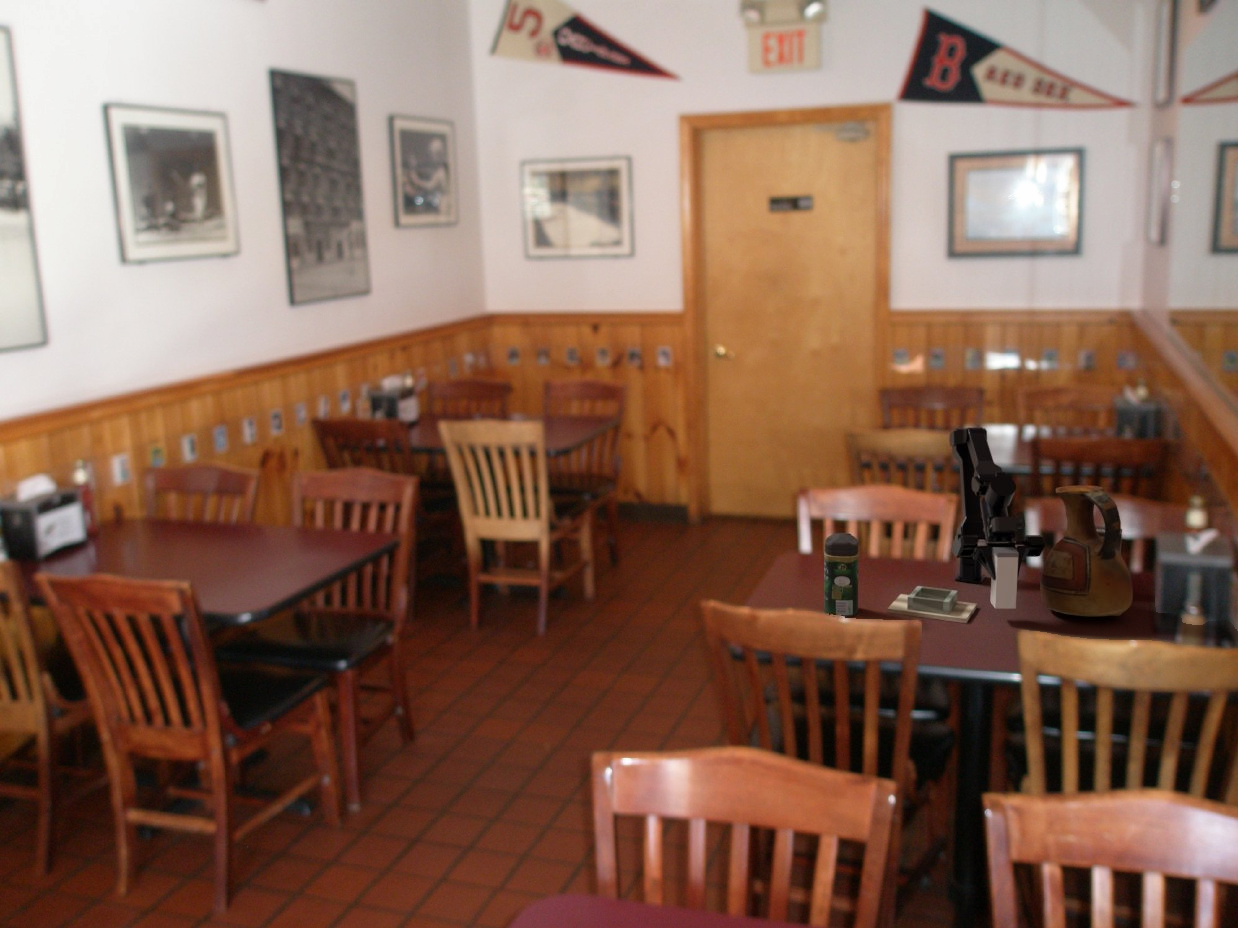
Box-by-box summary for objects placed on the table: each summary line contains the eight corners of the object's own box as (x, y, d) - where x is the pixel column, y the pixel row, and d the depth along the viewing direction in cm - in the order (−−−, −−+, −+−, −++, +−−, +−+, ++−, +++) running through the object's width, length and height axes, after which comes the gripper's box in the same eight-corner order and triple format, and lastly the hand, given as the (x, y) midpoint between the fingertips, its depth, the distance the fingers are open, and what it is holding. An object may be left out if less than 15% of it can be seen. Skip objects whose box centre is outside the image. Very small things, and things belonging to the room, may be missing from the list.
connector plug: (990, 601, 261) (992, 547, 258) (1010, 601, 261) (1013, 547, 258) (995, 608, 256) (997, 552, 254) (1016, 608, 256) (1018, 552, 253)
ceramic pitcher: (1079, 594, 276) (1086, 474, 270) (1151, 618, 258) (1160, 489, 253) (1020, 608, 267) (1026, 483, 261) (1090, 633, 250) (1098, 501, 244)
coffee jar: (824, 604, 273) (825, 529, 270) (857, 606, 272) (859, 530, 268) (822, 618, 264) (823, 540, 260) (857, 619, 262) (859, 541, 259)
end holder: (900, 597, 277) (901, 582, 276) (976, 607, 269) (977, 591, 268) (887, 612, 267) (887, 596, 266) (966, 623, 258) (966, 606, 257)
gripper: (960, 501, 258) (970, 562, 250) (1045, 500, 257) (1057, 561, 248) (952, 525, 268) (960, 585, 259) (1033, 525, 266) (1045, 585, 258)
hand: (1005, 579), depth 256 cm, fingers closed on connector plug, 4 cm apart
